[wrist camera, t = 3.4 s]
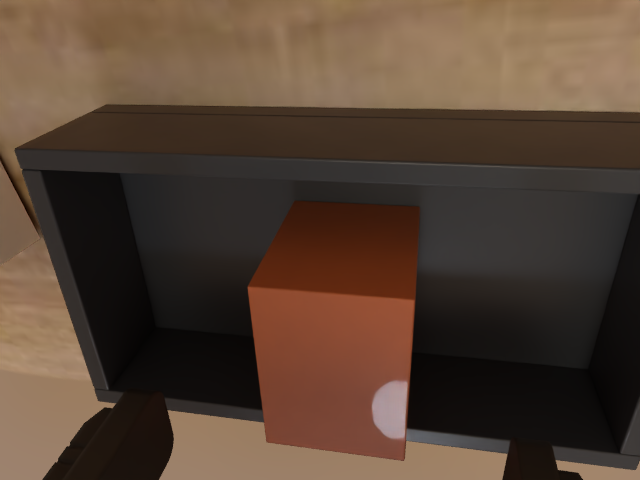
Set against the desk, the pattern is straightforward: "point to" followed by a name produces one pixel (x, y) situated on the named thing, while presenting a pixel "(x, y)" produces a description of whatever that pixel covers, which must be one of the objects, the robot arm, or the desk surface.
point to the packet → (337, 327)
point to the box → (13, 221)
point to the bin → (362, 188)
